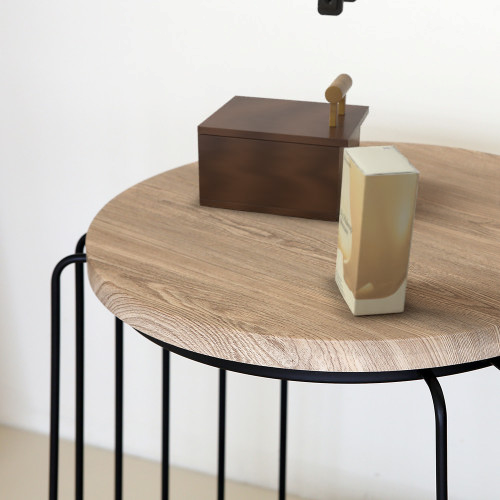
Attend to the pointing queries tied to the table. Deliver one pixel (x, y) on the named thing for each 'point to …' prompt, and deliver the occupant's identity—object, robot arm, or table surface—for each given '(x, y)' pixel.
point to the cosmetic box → (375, 228)
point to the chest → (271, 176)
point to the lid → (290, 118)
